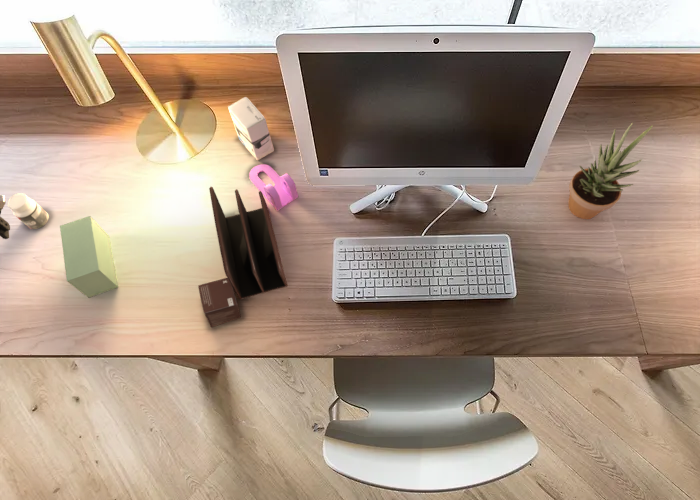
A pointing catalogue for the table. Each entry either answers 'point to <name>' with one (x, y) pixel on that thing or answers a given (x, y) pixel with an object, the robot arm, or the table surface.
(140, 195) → the table surface
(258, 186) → the bracket
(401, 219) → the table surface
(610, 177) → the potted plant
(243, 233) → the letter holder
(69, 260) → the tissue box
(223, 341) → the table surface
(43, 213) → the pill bottle
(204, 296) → the box
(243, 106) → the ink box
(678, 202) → the table surface
